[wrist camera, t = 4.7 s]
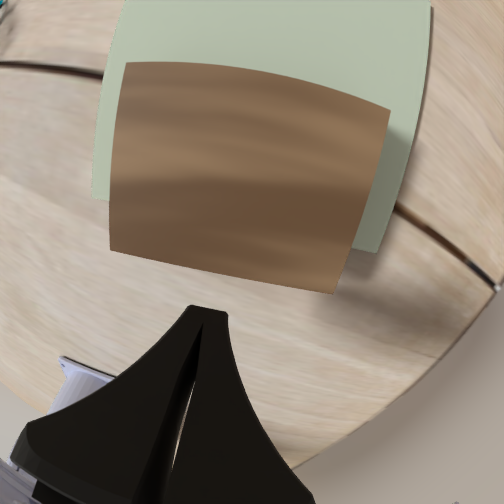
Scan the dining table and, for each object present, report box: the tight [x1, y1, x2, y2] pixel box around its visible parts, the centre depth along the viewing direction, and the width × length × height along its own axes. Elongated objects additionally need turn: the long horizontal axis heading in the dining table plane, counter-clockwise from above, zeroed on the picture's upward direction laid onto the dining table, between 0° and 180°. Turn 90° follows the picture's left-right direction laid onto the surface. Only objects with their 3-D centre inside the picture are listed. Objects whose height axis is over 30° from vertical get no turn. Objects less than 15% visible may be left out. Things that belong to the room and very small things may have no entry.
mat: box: [92, 0, 431, 254], centre depth 10 cm, size 16×16×1 cm
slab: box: [109, 62, 391, 294], centre depth 11 cm, size 3×10×8 cm
